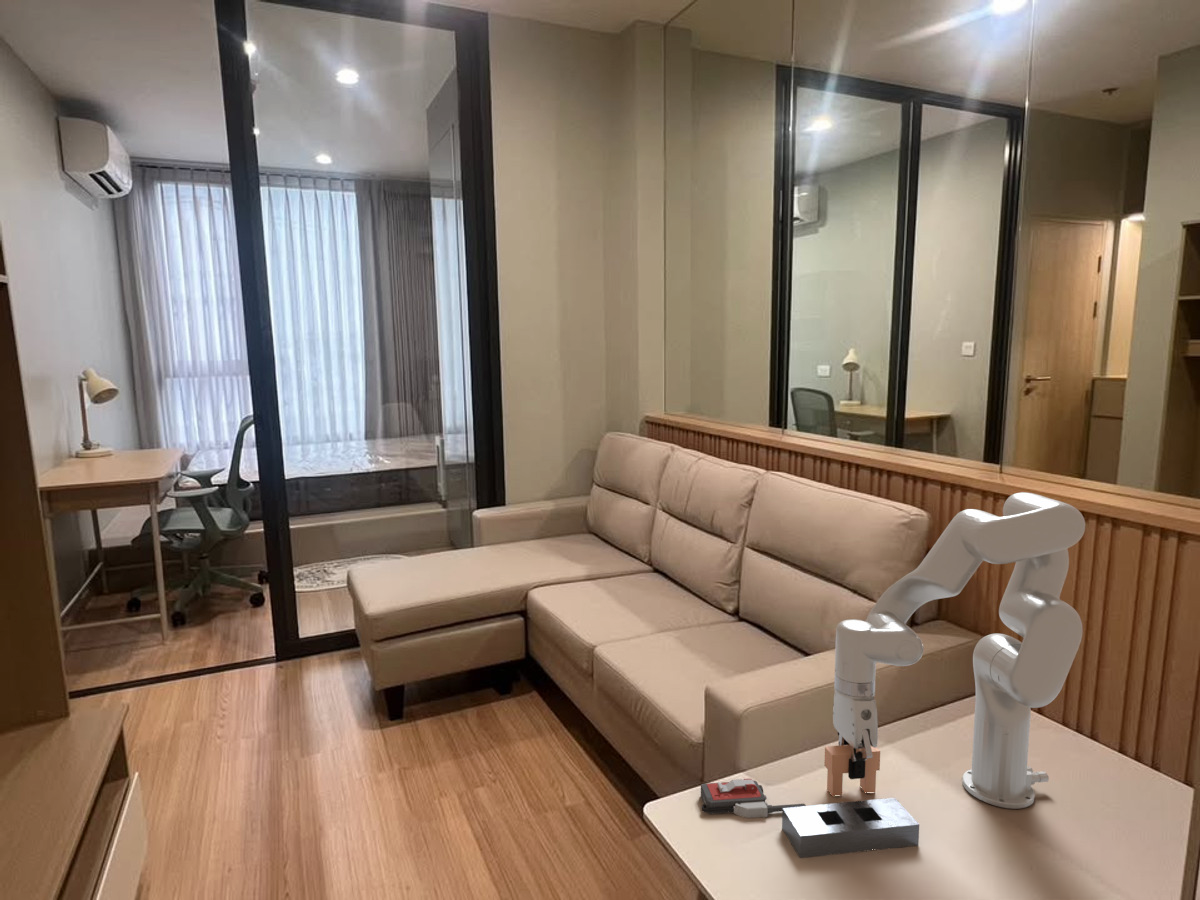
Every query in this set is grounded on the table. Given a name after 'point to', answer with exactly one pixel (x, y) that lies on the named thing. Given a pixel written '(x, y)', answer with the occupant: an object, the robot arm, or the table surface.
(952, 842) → the table surface
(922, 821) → the table surface
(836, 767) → the tan forked block
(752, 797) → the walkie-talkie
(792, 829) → the metal socket block
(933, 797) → the table surface
